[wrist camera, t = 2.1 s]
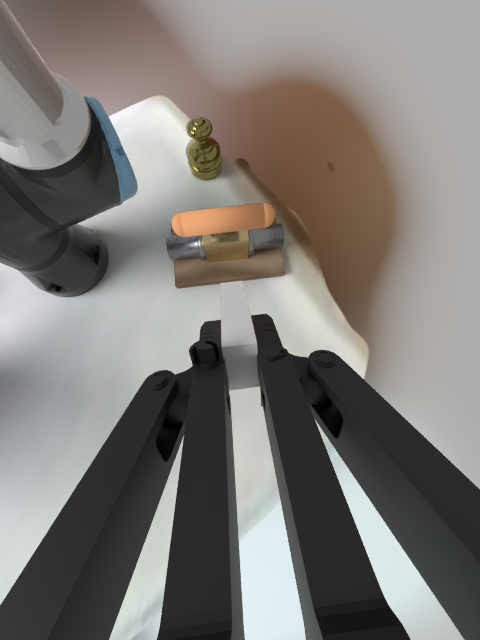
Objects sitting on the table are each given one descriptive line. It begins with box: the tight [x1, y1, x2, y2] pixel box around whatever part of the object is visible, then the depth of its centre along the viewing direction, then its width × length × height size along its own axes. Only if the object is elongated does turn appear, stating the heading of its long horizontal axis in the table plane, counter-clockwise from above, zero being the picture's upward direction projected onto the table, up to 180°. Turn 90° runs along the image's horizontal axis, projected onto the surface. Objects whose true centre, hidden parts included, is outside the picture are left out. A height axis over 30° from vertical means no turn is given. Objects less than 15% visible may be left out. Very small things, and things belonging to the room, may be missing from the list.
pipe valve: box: [166, 218, 285, 288], centre depth 43 cm, size 14×22×8 cm, turn 97°
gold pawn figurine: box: [186, 117, 222, 180], centre depth 47 cm, size 7×7×10 cm
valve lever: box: [172, 203, 275, 237], centre depth 31 cm, size 3×12×16 cm
